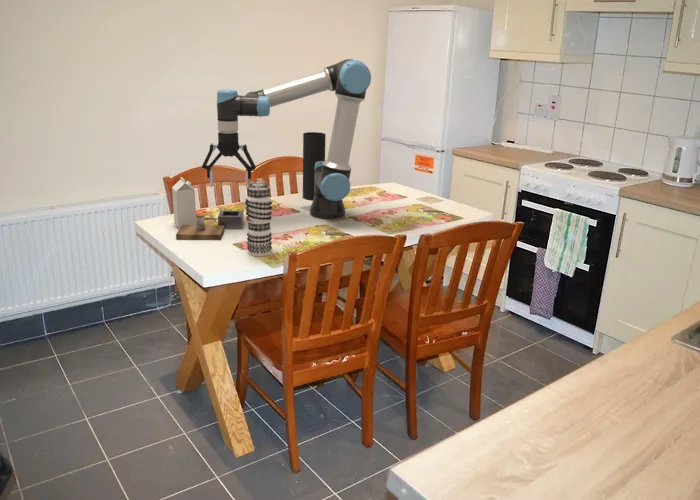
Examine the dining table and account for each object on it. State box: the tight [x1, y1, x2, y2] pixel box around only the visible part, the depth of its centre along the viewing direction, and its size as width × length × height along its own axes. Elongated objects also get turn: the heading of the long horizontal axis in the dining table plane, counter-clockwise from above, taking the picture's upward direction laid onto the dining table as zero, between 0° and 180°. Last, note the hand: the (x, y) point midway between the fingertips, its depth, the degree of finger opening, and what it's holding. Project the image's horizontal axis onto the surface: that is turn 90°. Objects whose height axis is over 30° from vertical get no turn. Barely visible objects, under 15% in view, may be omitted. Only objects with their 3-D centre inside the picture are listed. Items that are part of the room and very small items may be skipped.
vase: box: [302, 131, 327, 201], centre depth 283 cm, size 10×10×30 cm
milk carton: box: [171, 176, 197, 230], centre depth 236 cm, size 7×7×19 cm
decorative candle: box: [244, 180, 273, 257], centre depth 209 cm, size 9×9×25 cm
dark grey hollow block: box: [217, 209, 245, 230], centre depth 241 cm, size 9×9×5 cm
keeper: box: [175, 212, 225, 241], centre depth 228 cm, size 16×12×8 cm
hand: (229, 186), depth 236 cm, fingers open, 13 cm apart
